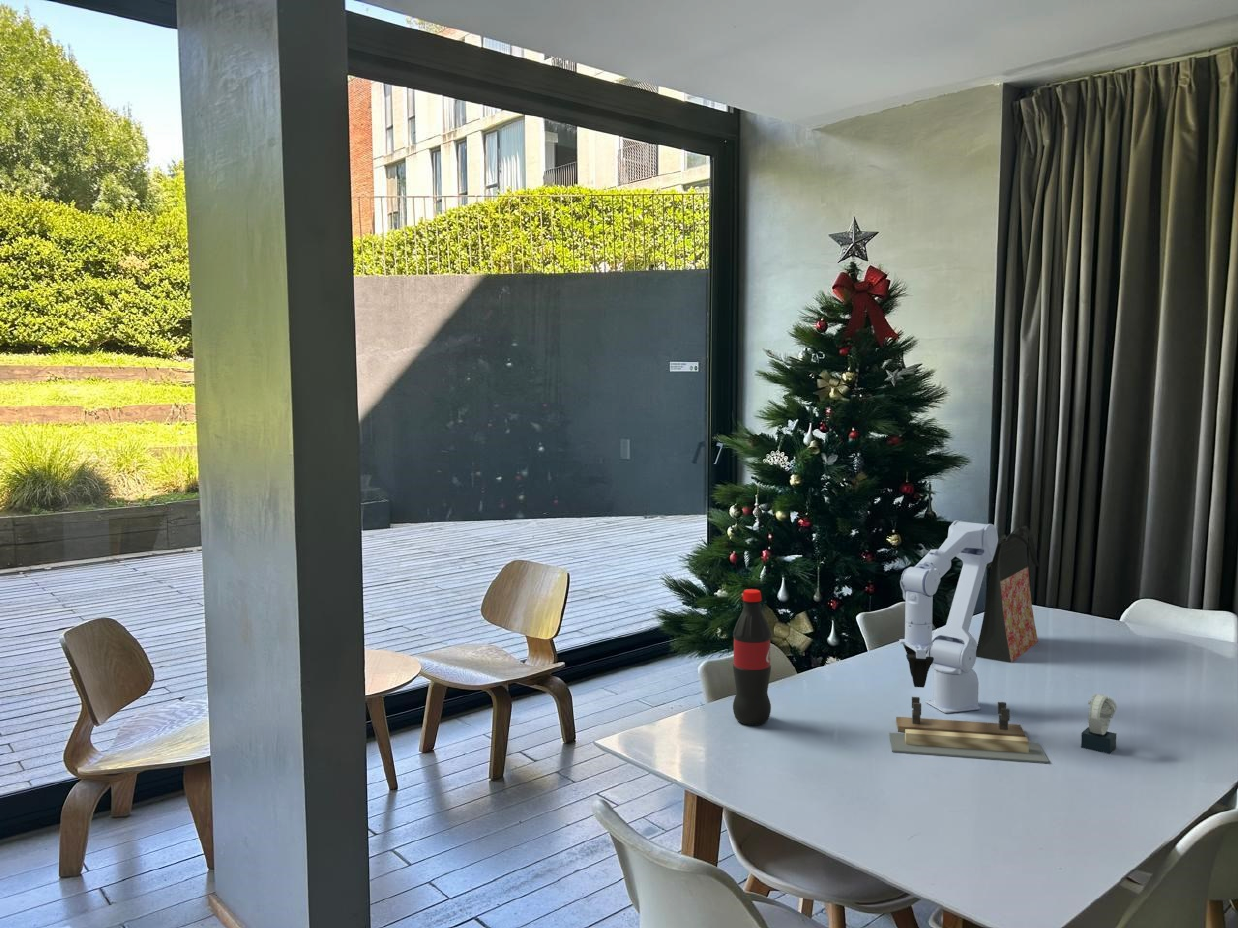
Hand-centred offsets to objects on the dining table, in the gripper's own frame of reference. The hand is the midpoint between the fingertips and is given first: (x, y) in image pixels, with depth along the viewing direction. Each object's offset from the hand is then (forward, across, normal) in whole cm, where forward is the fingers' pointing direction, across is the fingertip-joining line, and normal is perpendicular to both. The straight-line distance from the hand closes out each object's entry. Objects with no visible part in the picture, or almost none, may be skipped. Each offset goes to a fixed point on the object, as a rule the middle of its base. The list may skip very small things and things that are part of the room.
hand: (917, 681), depth 210 cm
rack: (+9, +4, +8) cm, 13 cm away
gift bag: (+10, -66, +31) cm, 74 cm away
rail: (+9, +14, +9) cm, 18 cm away
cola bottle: (+10, +6, -36) cm, 38 cm away
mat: (+9, +14, +9) cm, 19 cm away
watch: (+10, +8, +35) cm, 37 cm away
